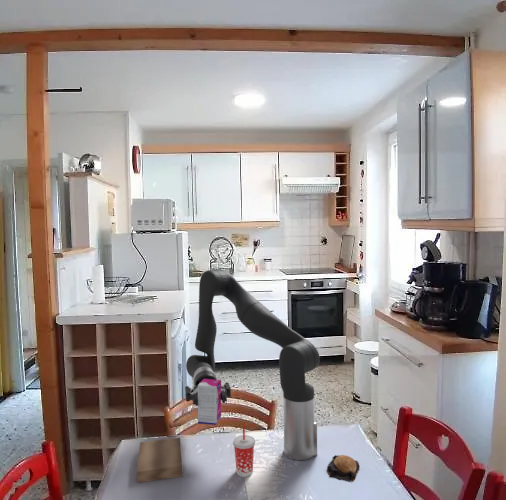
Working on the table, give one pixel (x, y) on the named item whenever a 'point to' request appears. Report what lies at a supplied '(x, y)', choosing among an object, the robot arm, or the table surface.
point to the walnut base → (159, 460)
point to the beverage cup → (244, 453)
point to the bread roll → (343, 468)
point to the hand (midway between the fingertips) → (210, 401)
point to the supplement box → (209, 401)
